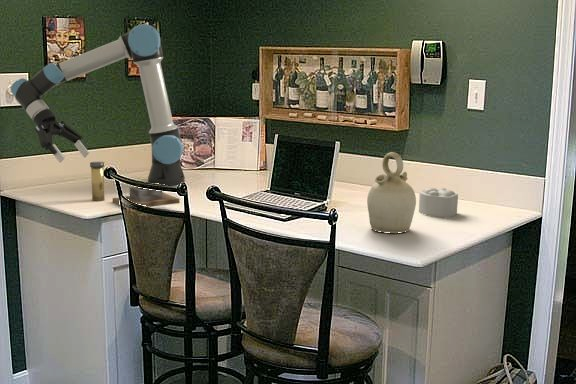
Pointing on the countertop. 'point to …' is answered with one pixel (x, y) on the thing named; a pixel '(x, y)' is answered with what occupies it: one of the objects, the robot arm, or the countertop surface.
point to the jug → (391, 199)
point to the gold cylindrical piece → (97, 181)
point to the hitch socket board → (149, 197)
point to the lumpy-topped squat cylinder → (438, 202)
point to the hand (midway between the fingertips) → (74, 157)
